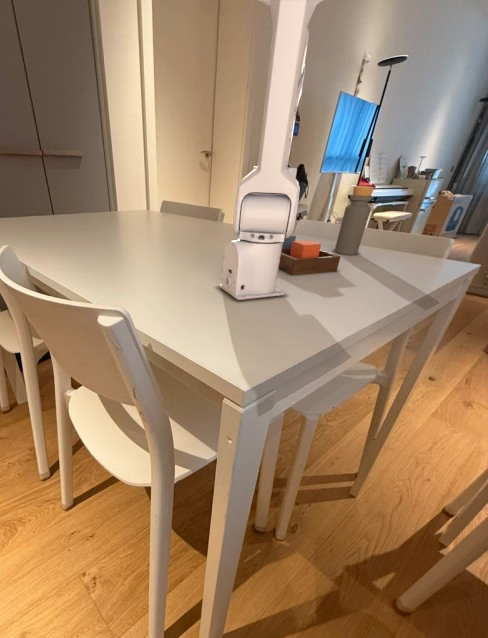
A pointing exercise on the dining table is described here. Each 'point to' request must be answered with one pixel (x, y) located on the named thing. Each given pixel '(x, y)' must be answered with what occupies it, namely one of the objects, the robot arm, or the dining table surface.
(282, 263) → the tray
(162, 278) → the dining table surface
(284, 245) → the blue block
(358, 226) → the bottle
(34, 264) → the dining table surface
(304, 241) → the terracotta block
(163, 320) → the dining table surface
